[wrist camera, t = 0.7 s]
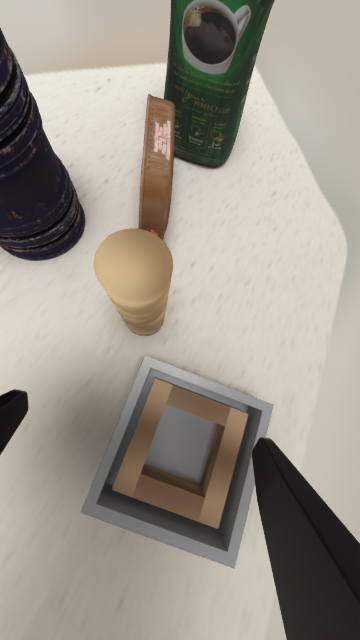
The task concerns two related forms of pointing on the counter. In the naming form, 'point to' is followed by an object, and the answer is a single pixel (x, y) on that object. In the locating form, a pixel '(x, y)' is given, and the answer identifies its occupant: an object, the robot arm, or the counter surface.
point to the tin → (157, 166)
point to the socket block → (171, 489)
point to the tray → (180, 465)
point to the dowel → (136, 277)
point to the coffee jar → (211, 72)
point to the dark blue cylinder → (31, 175)
